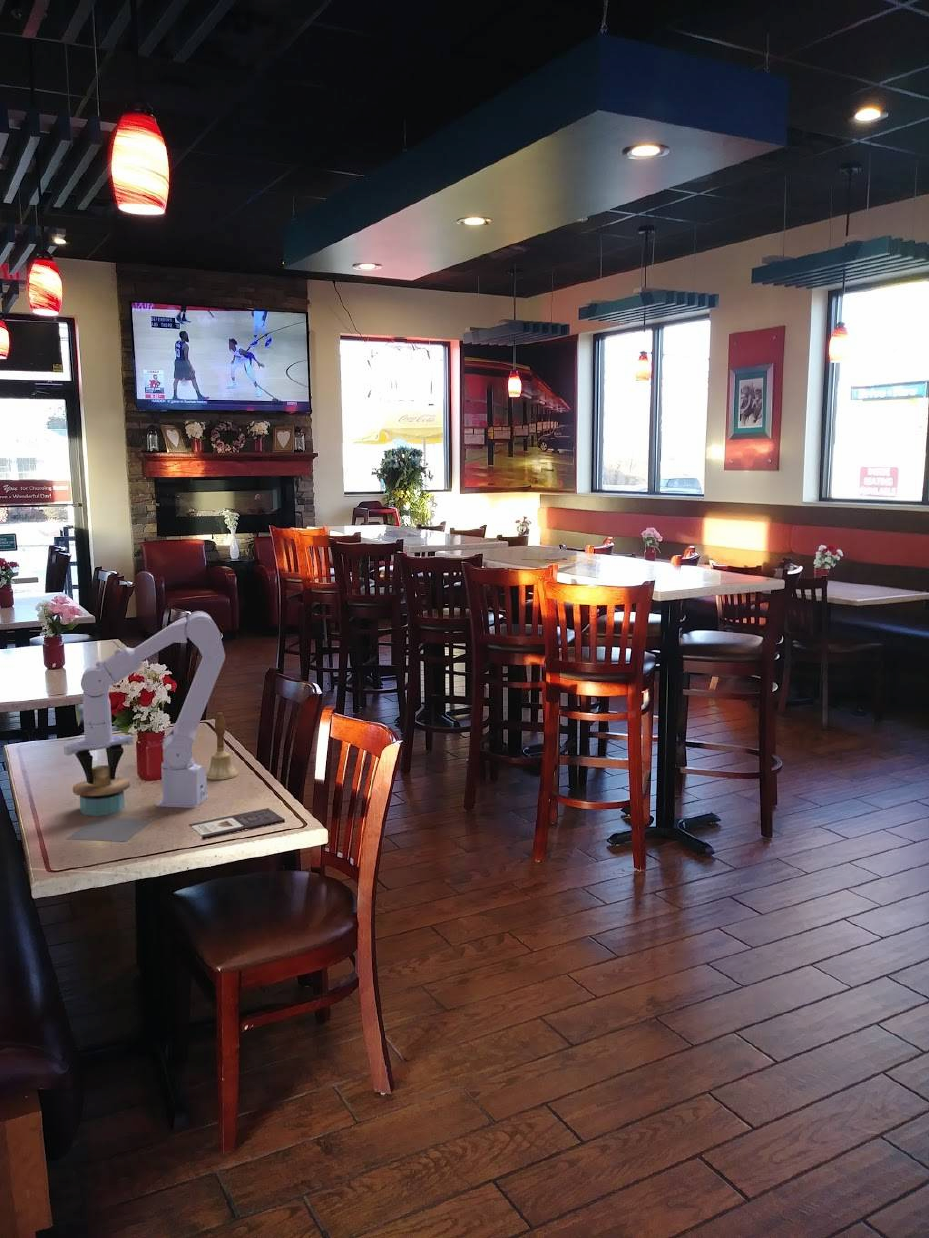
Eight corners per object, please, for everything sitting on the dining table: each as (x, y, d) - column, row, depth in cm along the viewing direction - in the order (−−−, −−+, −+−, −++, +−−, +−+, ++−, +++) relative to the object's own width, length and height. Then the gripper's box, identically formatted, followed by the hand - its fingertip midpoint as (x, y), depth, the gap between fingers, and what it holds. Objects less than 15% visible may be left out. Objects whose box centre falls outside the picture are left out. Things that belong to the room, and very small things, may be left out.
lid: (139, 781, 223) (138, 760, 222) (113, 796, 211) (112, 775, 211) (90, 780, 225) (88, 759, 224) (62, 795, 213) (60, 774, 212)
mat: (153, 821, 212) (153, 819, 212) (126, 843, 199) (125, 841, 199) (96, 818, 213) (96, 816, 213) (65, 840, 201) (65, 838, 200)
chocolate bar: (284, 819, 211) (203, 836, 201) (284, 823, 212) (204, 841, 201) (268, 808, 219) (189, 824, 209) (268, 812, 219) (189, 828, 209)
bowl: (131, 803, 223) (130, 787, 222) (112, 817, 214) (111, 800, 213) (93, 802, 224) (92, 785, 223) (72, 816, 215) (71, 798, 214)
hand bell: (216, 768, 250) (214, 708, 247) (244, 772, 247) (242, 710, 244) (197, 778, 242) (194, 715, 240) (225, 781, 239) (223, 718, 237)
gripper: (124, 713, 223) (127, 770, 225) (58, 722, 215) (61, 782, 217) (135, 719, 218) (138, 777, 220) (67, 729, 209) (71, 790, 211)
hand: (101, 780), depth 218 cm, fingers closed on lid, 4 cm apart
